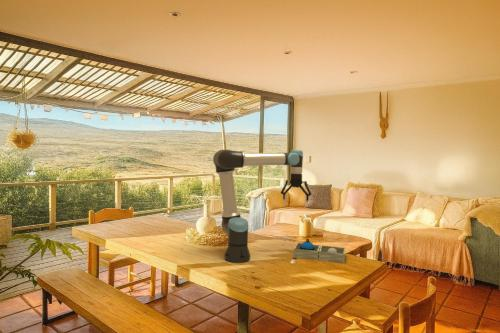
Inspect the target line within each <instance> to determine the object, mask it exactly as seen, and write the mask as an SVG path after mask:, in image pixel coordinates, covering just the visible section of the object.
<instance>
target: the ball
mask: <svg viewBox="0 0 500 333" xmlns="http://www.w3.org/2000/svg"><path fill="white" fill-rule="evenodd" d="M327 252H330V253H337V250H336V249H335V248H330V249H328V251H327Z"/></svg>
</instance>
